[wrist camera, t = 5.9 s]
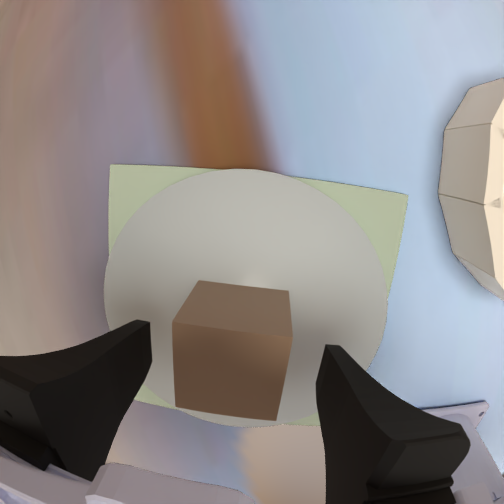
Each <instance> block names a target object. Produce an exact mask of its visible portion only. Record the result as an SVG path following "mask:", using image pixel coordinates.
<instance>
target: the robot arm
mask: <svg viewBox="0 0 504 504" xmlns="http://www.w3.org/2000/svg"><path fill="white" fill-rule="evenodd" d="M152 362H153V361H152V347H151V330H150V322H148V321H143V320H138V319H136V320H134V321H131V322H129V323H127V324H125V325H123V326H121V327H119V328H116V329H114V330H112V331H110V332H108V333H106V334H104V335H102V336H99V337H97V338H95V339H92V340H90V341H87V342H85V343H82V344H80V345H77V346H74V347H70V348H67V349H64V350H59V351H55V352H50V353H45V354H38V355H29V356H0V504H255V501H254V500H253V499H252V498H250V497H249V496H247V495H245V494H243V493H242V492H240V491H238V490H235V489H231V488H227V487H223V486H219V485H213V484H207V483H201V482H195V481H190V480H185V479H181V478H176V477H171V476H167V475H163V474H159V473H155V472H151V471H147V470H144V469H140V468H137V467H133V466H130V465H124V464H118V463H109V464H106V465H105V462H106V459H107V456H108V453H109V450H110V448H111V445H112V442H113V439H114V437H115V435H116V432H117V430H118V427H119V425H120V423H121V421H122V419H123V417H124V415H125V413H126V412H127V410H128V408H129V407H130V405H131V403H132V401H133V400H134V398H135V396H136V395H137V393H138V391H139V390H140V388H141V386H142V385H143V383H144V381H145V379H146V377H147V374H148V372H149V369H150V367H151V364H152ZM315 385H316V404H317V410H318V415H319V421H320V426H321V431H322V437H323V442H324V449H325V464H326V504H504V479H503V476H502V475H501V473H500V471H499V469H498V467H497V465H496V464H495V462H494V460H493V458H492V456H491V455H490V453H489V451H488V449H487V448H486V446H485V444H484V442H483V441H482V439H481V437H480V436H479V434H478V432H477V431H476V427H477V426H478V424H479V423H480V421H481V419H482V418H483V416H484V414H485V413H486V411H487V410H488V408H489V404H488V403H487V402H480V403H474V404H468V405H461V406H453V407H445V408H437V409H427V410H420V409H418V408H416V407H414V406H412V405H411V404H409V403H407V402H405V401H403V400H402V399H400V398H399V397H397V396H396V395H394V394H393V393H391V392H390V391H388V390H387V389H386V388H384V387H383V386H382V385H381V384H379V383H378V382H377V381H376V380H375V379H374V378H372V377H371V376H370V375H369V374H368V373H367V372H366V371H365V370H364V369H363V368H362V367H361V366H360V365H359V364H358V363H357V362H356V361H355V360H354V359H353V358H352V357H351V356H350V355H349V354H348V353H347V352H346V351H345V350H344V349H343V348H342V347H341V346H340V345H329V344H325V348H324V352H323V356H322V360H321V364H320V368H319V372H318V375H317V379H316V383H315Z"/></svg>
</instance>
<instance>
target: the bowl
mask: <svg viewBox="0 0 504 504" xmlns="http://www.w3.org/2000/svg"><path fill="white" fill-rule="evenodd" d="M438 193H440V194H438V196H439V200H440V203H441V207H442V210H443V214H444V218H445V222H446V226H447V230H448V235H449V239H450V243H451V248H452V252H453V254H454V255H455V256H456V257H457V258H458V259H459V261H460V262H461V263H462V264H463V265H464V266H465V267H466V268H467V270H468V271H469V272H470V273H471V274H472V275H473V276H474V278H475V279H476V280H477V281H478V282H479V284H480V285H481V286H483V287H484V288H485V289H487V290H488V291H490V292H491V293H493V294H494V295H495V296H497V297H498V298H500V299H501V300H502V301H504V78H501V79H497V80H494V81H491V82H488V83H484V84H481V85H478V86H475V87H472V88H470V89H469V90H468V92H467V94H466V95H465V97H464V99H463V100H462V102H461V104H460V105H459V107H458V109H457V110H456V112H455V114H454V115H453V117H452V118H451V120H450V122H449V123H448V125H447V126H446V128H445V130H444V141H443V153H442V164H441V173H440V181H439V189H438Z"/></svg>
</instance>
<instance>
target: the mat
mask: <svg viewBox="0 0 504 504" xmlns="http://www.w3.org/2000/svg"><path fill="white" fill-rule="evenodd" d="M219 170H221V169H208V168H193V167H176V166H154V165H119V164H113V165H110V179H109V256H110V253H111V250H112V248H113V246H114V243H115V241H116V239H117V237H118V235H119V234H120V232H121V230H122V229H123V227H124V226H125V224H126V223H127V221H128V220H129V219H130V218H131V217H132V216H133V214H134V213H135V212H136V211H137V210H138V209H139V208H140V207H141V206H142V205H143V204H144V203H146V202H147V201H148V200H149V199H150V198H151V197H153V196H154V195H156V194H157V193H159V192H160V191H162V190H164V189H165V188H167V187H168V186H170V185H172V184H175V183H177V182H179V181H182V180H184V179H186V178H188V177H192V176H195V175H199V174H203V173H207V172H211V171H219ZM287 177H291V176H287ZM291 178H294V179H297V180H299V181H301V182H303V183H305V184H307V185H309V186H311V187H313V188H315V189H317V190H319V191H321V192H322V193H323V194H325V195H326V196H328V197H329V198H331V199H332V200H334V201H335V202H337V203H338V204H339V205H340V206H341V207H342V208H343V209H344V210H345V211H346V212H348V213H349V214H350V215H351V216H352V217H353V218H354V220H355V221H356V222H357V223H358V225H359V226H360V227H361V228H362V229H363V231H364V232H365V233H366V235H367V237H368V238H369V240H370V242H371V244H372V245H373V247H374V249H375V251H376V253H377V256H378V258H379V261H380V263H381V266H382V269H383V273H384V277H385V282H386V287H387V299H388V295H389V291H390V287H391V283H392V279H393V275H394V270H395V266H396V261H397V257H398V252H399V247H400V242H401V237H402V231H403V226H404V220H405V214H406V208H407V201H408V195H405V194H400V193H395V192H389V191H384V190H378V189H373V188H367V187H361V186H355V185H348V184H342V183H335V182H328V181H321V180H314V179H306V178H299V177H291ZM134 400H137V401H141V402H145V403H150V404H154V405H158V406H163V407H167V408H172V409H177V408H175V407H173V406H172V405H170V404H169V403H167V402H166V401H164V400H163V399H161V398H160V397H158V396H157V395H156V394H155V393H153V392H152V391H151V390H150V389H149V388H147V387H146V386H145V385H144V384H143V385H142V386H141V388H140V390H139V391H138V393H137V395H136V396H135V398H134ZM177 410H179V409H177ZM285 424H289V425H307V426H320V421H319V415H318V412H316V413H314V414H312V415H310V416H308V417H305V418H302V419H299V420H296V421H293V422H289V423H285Z"/></svg>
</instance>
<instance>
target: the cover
mask: <svg viewBox="0 0 504 504" xmlns="http://www.w3.org/2000/svg"><path fill="white" fill-rule="evenodd" d="M104 306H105V312H106V318H107V322H108V325H109V329H110V331H112V330H114V329H116V328H119V327H121V326H123V325H125V324H127V323H129V322H131V321H134V320H136V319H138V320H143V321H148V322H150V330H151V347H152V361H153V362H152V364H151V367H150V369H149V372H148V374H147V377H146V379H145V381H144V383H143V384H144V385H145V386H146V387H147V388H149V389H150V390H151V391H152V392H153V393H155V394H156V395H157V396H158V397H160V398H161V399H163V400H164V401H166V402H167V403H169V404H170V405H172V406H173V407H175V408H177V409H179V410H181V411H183V412H185V413H187V414H189V415H192V416H194V417H197V418H199V419H202V420H206V421H209V422H213V423H217V424H222V425H227V426H236V427H267V426H274V425H281V424H285V423H289V422H293V421H296V420H299V419H302V418H305V417H308V416H310V415H312V414H314V413H316V412H318V410H317V404H316V385H315V383H316V379H317V375H318V372H319V368H320V364H321V360H322V356H323V352H324V348H325V344H329V345H340V346H341V347H342V348H343V349H344V350H345V351H346V352H347V353H348V354H349V355H350V356H351V357H352V358H353V359H354V360H355V361H356V362H357V363H358V364H359V365H360V366H361V367H362V368H363V369H364V370H365V371H366V370H367V369H368V367H369V366H370V364H371V362H372V360H373V358H374V357H375V355H376V353H377V350H378V348H379V345H380V343H381V340H382V337H383V333H384V329H385V325H386V319H387V306H388V301H387V287H386V282H385V277H384V273H383V269H382V266H381V263H380V261H379V258H378V256H377V253H376V251H375V249H374V247H373V245H372V244H371V242H370V240H369V238H368V237H367V235H366V233H365V232H364V231H363V229H362V228H361V227H360V226H359V225H358V223H357V222H356V221H355V220H354V218H353V217H352V216H351V215H350V214H349V213H348V212H346V211H345V210H344V209H343V208H342V207H341V206H340V205H339V204H338V203H337V202H335V201H334V200H332V199H331V198H329V197H328V196H326V195H325V194H323V193H322V192H321V191H319V190H317V189H315V188H313V187H311V186H309V185H307V184H305V183H303V182H301V181H299V180H297V179H294V178H291V177H287V176H284V175H281V174H278V173H273V172H268V171H262V170H256V169H228V170H219V171H211V172H207V173H203V174H199V175H195V176H192V177H188V178H186V179H184V180H182V181H179V182H177V183H175V184H172V185H170V186H168V187H167V188H165V189H164V190H162V191H160V192H159V193H157V194H156V195H154V196H153V197H151V198H150V199H149V200H148V201H147V202H146V203H144V204H143V205H142V206H141V207H140V208H139V209H138V210H137V211H136V212H135V213H134V214H133V216H132V217H131V218H130V219H129V220H128V221H127V223H126V224H125V226H124V227H123V229H122V230H121V232H120V234H119V235H118V237H117V239H116V241H115V243H114V246H113V248H112V250H111V253H110V256H109V259H108V263H107V267H106V271H105V279H104Z"/></svg>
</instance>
